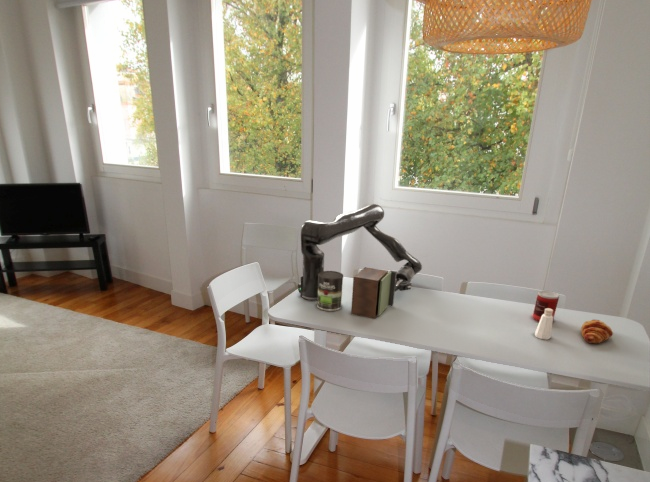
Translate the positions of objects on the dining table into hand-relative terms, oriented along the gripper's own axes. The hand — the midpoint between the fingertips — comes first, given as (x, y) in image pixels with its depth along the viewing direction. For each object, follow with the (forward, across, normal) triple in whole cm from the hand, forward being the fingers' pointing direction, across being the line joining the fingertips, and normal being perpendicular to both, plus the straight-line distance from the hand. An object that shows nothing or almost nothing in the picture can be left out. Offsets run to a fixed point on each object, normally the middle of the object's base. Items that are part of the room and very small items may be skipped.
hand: (391, 290), depth 196 cm
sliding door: (+7, 0, -6) cm, 10 cm away
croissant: (-6, -77, -7) cm, 78 cm away
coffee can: (+13, +23, -7) cm, 27 cm away
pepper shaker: (+3, -59, -7) cm, 60 cm away
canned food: (-15, -59, -7) cm, 62 cm away
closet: (+10, +7, -7) cm, 14 cm away
